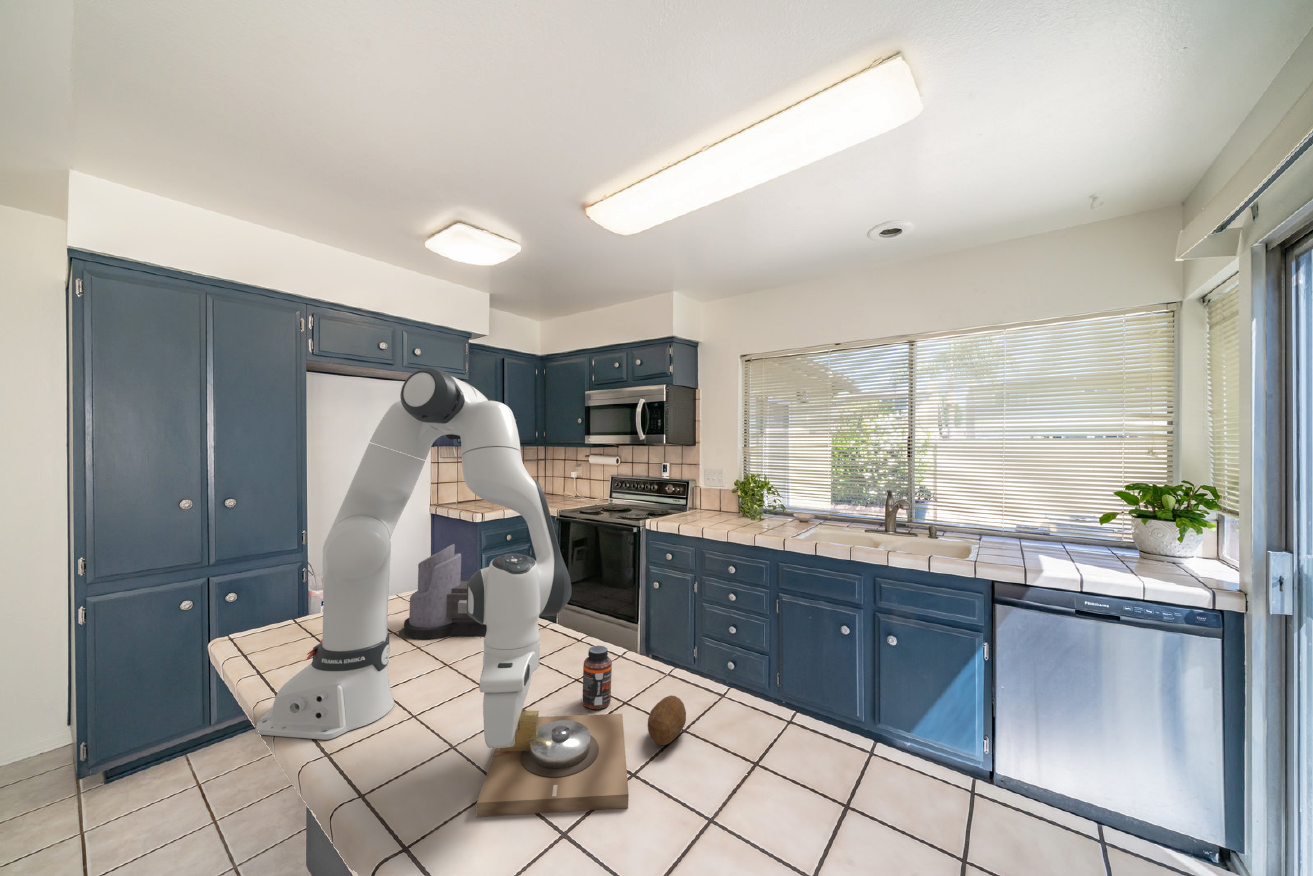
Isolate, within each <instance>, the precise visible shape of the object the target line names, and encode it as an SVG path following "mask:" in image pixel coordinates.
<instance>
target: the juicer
mask: <svg viewBox="0 0 1313 876" xmlns="http://www.w3.org/2000/svg"><path fill="white" fill-rule="evenodd" d="M455 547H456V546H455V544H454V543H452V544H451V545H448V546H447V547H445V548H443V549H441V550H440V551H438V552H436V553H434V554H432V555H430V556H429V557H427V558H425V559H423V560H421V561H420V562H419V563H418V564H417V567H418V569H417V570H418V571H417V572H418V573H417V590H416V591H415V592H413V593H412V594H411V596H410V597H409V613H408V614H409V617H407V618H406V619H405V620H404V621H403V622H404V623H403V627H402V628H401V629H400V630H399V631H398V633H397V635H398V637H399V638H400V639H401V640H406V639H407V640H408V639H409V640H414V641H415V640H416V641H432V640H440V639H444V638H455V637H456V638H459V637H460V638H462V637H463V638H466V637H470V638H471V637H475V638H476V637H480V638H481V637H483V638H485V635H486V631H487V626H486V625H485V624H482V625H481V624H480V623H478V622H477V621H475V620H474V619H473V618H471V617H470V616H469V615H468V614H467V582H468V581H469V580H461V577H462V576H461V572H462V554H461V553H455V549H456V548H455Z"/></svg>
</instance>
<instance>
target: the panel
mask: <svg viewBox="0 0 1313 876" xmlns="http://www.w3.org/2000/svg"><path fill="white" fill-rule="evenodd" d="M623 718H624V716H623V713H609V714H608V713H606V714H579V715H576V714H575V715H554V716H553V715H551V716H538V728H539V727H541V726H543V725H545V724H547V723H550V722H554V721H560V720H569V721H575V722H579V723H581V724H583V725H585V726H586V727H587V728H588V730H589V731H590V750H589V753H588V754H587V756H586V757H585V758H584V759H583V760H581V761H580V762H578V763H576V764H574V765H571V766H568V767H564V768H547V767H543V766H540V765H538V764H537V763H535V762H534V761H533V760H532V758H531V756H530V751H500V748H494V749H495V750H494V751H493V755H492V758H491V761H490V764H489V767H488V769H487V773H486V775H485V778H484V781H483V784H482V787H481V790H480V791H479V795H478V798H477V801H476V811H475V812H476V813H475V814H476V815H475V817H476V818H477V817H478V818H479V817H495V816H496V817H497V816H510V815H511V816H513V815H527V814H542V813H543V814H544V813H545V814H546V813H547V814H548V813H563V812H579V811H595V810H613V809H615V810H616V809H627V808H629V795H630V794H629V784H628V783H629V781H628V772H627V771H628V770H627V759H626V758H627V757H626V745H625V743H626V742H625V731H624V719H623Z"/></svg>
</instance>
